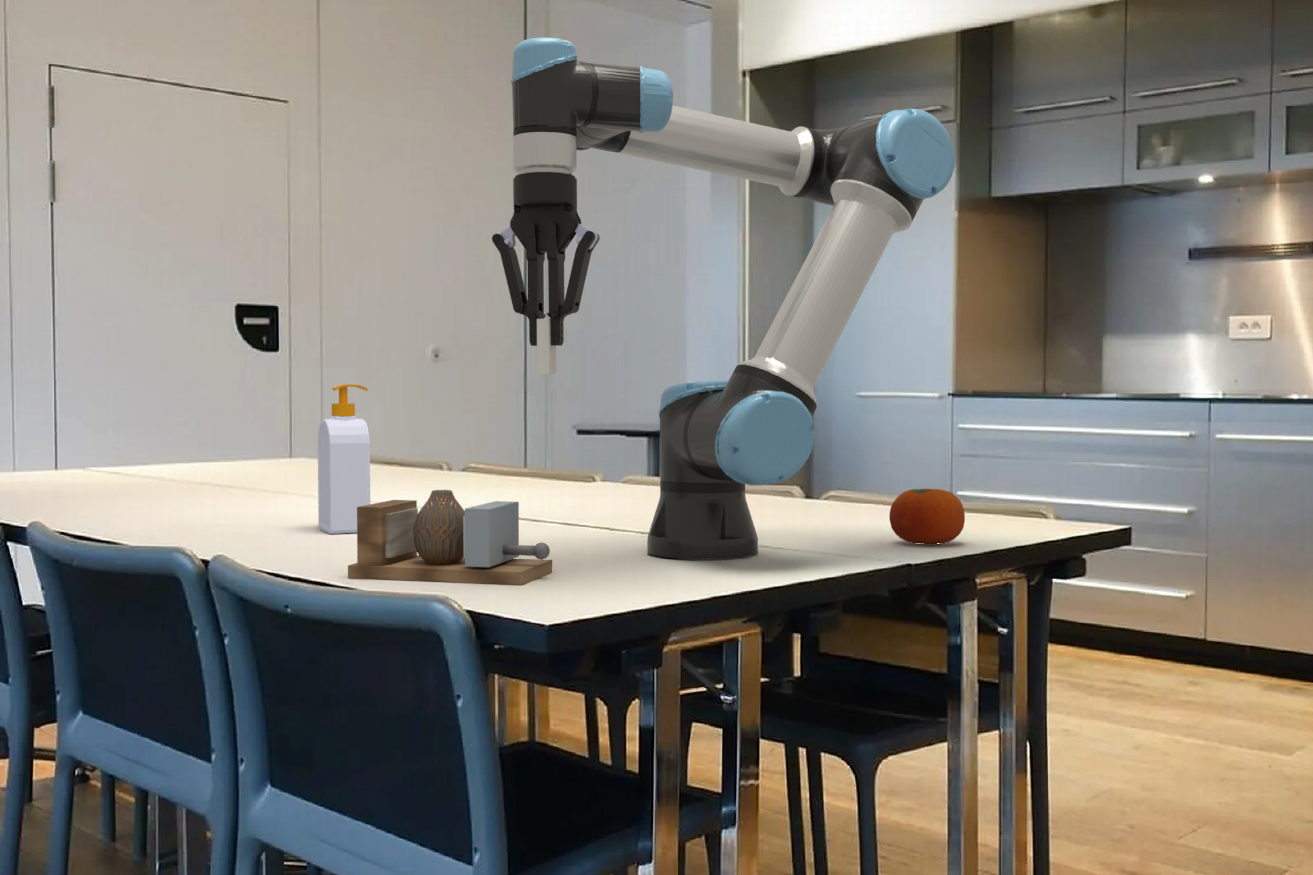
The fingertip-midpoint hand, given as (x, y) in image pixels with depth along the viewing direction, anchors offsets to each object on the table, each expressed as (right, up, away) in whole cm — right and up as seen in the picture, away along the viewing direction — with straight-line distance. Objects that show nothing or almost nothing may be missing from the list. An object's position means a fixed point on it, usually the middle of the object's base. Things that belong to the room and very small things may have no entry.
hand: (546, 373), depth 163 cm
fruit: (+52, -23, +35) cm, 67 cm away
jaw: (-4, -23, +1) cm, 23 cm away
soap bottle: (-36, -22, +52) cm, 67 cm away
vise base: (-12, -24, +3) cm, 27 cm away
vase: (-13, -23, +4) cm, 27 cm away
